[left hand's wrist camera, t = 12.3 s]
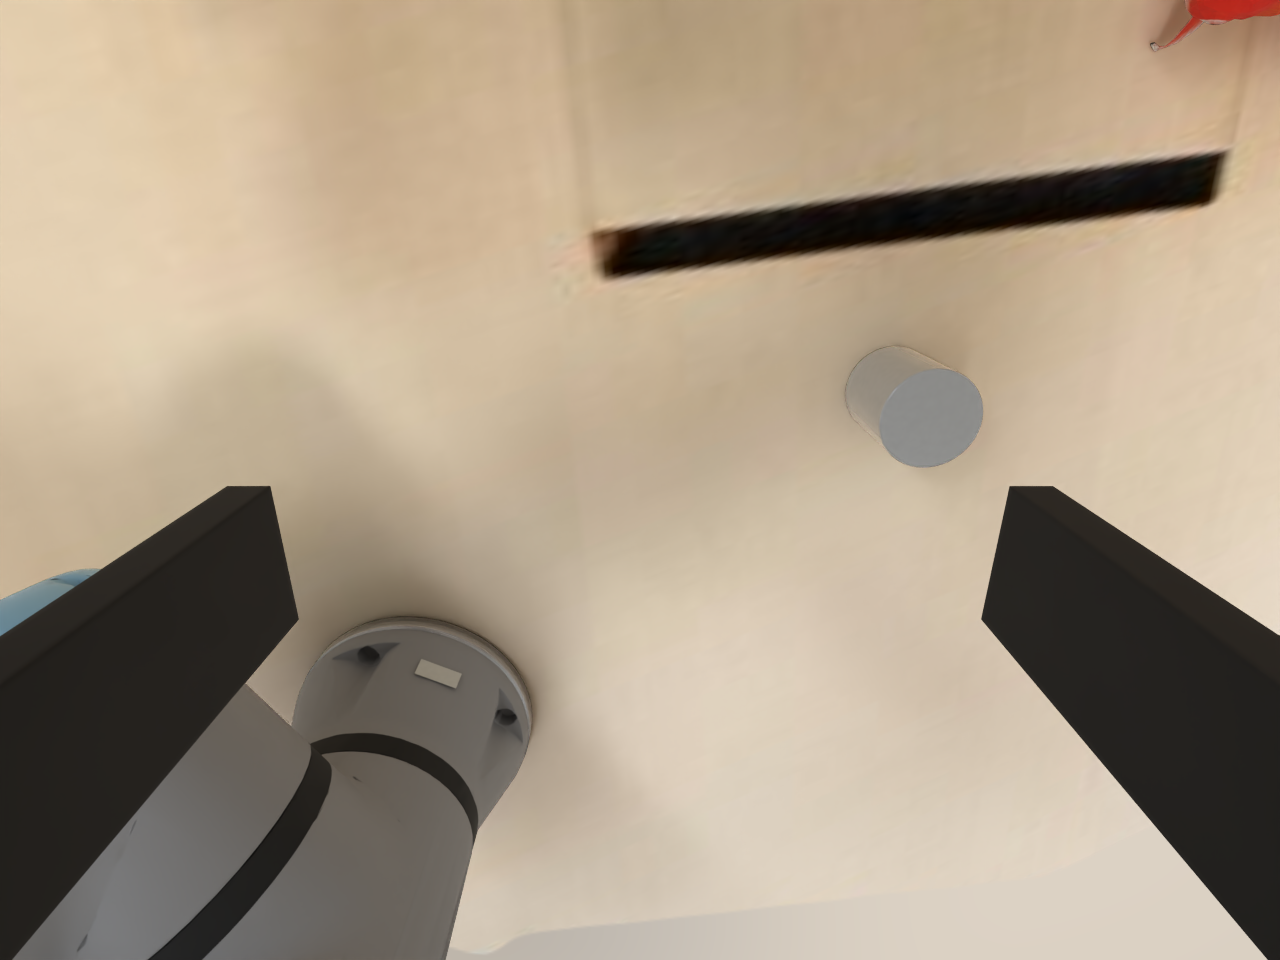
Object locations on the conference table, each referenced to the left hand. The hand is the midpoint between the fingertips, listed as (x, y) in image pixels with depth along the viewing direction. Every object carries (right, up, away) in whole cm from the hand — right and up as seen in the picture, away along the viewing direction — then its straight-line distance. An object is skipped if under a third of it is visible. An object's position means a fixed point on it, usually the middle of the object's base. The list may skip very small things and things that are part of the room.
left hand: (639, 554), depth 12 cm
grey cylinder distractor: (+14, +6, +26) cm, 30 cm away
